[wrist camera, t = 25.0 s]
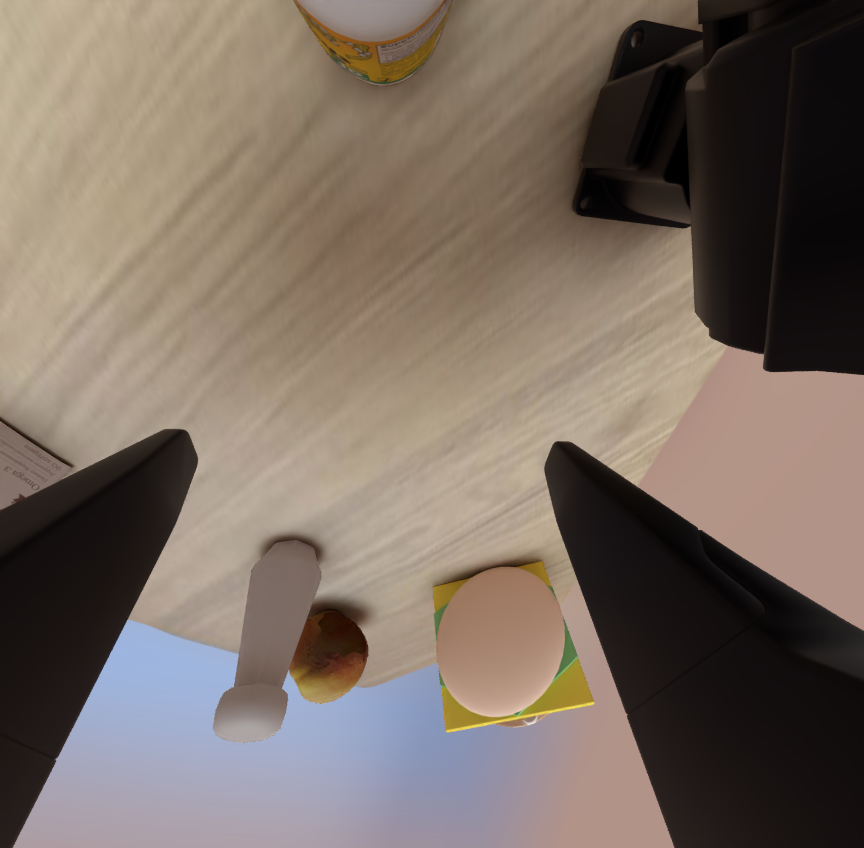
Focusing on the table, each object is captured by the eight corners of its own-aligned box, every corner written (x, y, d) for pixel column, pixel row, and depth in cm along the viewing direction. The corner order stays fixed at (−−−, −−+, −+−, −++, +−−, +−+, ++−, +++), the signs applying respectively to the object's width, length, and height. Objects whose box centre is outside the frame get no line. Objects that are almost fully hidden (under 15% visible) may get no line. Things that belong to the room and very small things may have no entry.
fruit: (297, 595, 37) (276, 686, 30) (376, 599, 38) (372, 686, 32) (294, 628, 41) (275, 715, 35) (365, 630, 43) (360, 713, 36)
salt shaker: (250, 561, 32) (182, 748, 22) (271, 526, 30) (204, 720, 19) (311, 575, 35) (275, 751, 24) (335, 544, 32) (306, 727, 22)
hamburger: (447, 611, 42) (462, 745, 32) (426, 576, 37) (437, 723, 27) (547, 588, 40) (595, 721, 31) (539, 549, 35) (593, 693, 26)
